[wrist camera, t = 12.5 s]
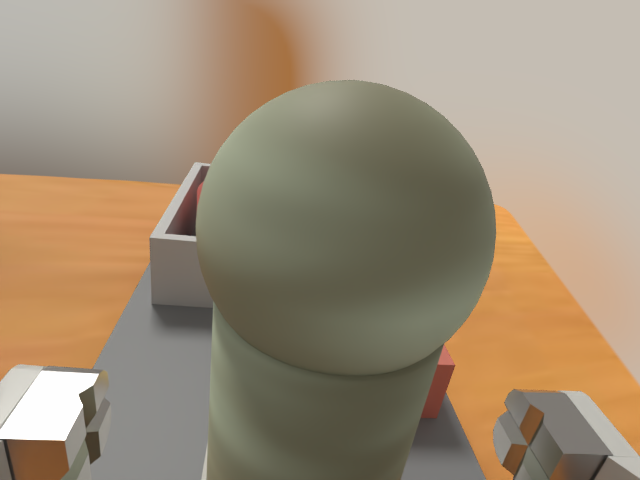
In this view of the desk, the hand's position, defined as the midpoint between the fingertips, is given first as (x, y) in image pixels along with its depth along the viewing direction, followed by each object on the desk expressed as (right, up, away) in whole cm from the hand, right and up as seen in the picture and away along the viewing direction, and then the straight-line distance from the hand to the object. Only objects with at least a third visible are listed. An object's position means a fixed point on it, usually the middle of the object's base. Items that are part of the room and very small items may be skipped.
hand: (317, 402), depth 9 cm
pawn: (-1, -7, +3) cm, 8 cm away
